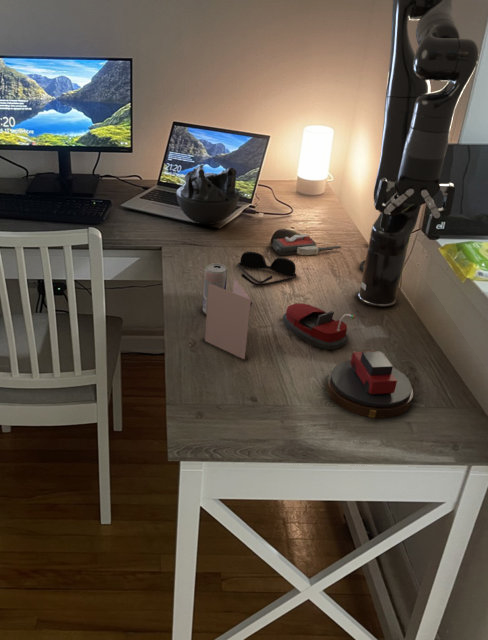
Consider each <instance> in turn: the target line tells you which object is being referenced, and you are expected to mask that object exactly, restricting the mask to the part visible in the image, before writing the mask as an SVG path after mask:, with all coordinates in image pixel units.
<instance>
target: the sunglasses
mask: <svg viewBox="0 0 488 640" xmlns="http://www.w3.org/2000/svg"><path fill="white" fill-rule="evenodd" d="M237 267H238V268H239V269H240V270H241V271H242V272H243V273H241V278H243V279H244V280H245V281H247V282H248V283H250V284H251V285H253V286H258V287H262V286H269V285H273V284H278V283H279V284H280V283H282V282H286V281H290V280H293V279H296V278H297V277H298V274H296V271H297V270H296V263H295V262H294V261H293V260H292V259H288V258H285V257H276V258H275V259H274V260H273V261H272V262H271V264H270V265H267V263H266V259H265V256H263V254H261V253H260V252H256V251H244V252H243V253H242V254H241V256H240V260H239V262H238V263H237ZM244 268H248V269H259V270H263V269H264V270H269V271H272V272H275V273H277V274H279V275H281V276H286V278H285V277H284V278H282V279H277V280H273V281H271V280H272V279H273V275H272V274H271V275H270V276H268V277H266V278H265V279H263V280H258V279H257V278H255V277H253V276H252V275H251V274H249V273H248V272H247V270H245V269H244Z"/></svg>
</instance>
